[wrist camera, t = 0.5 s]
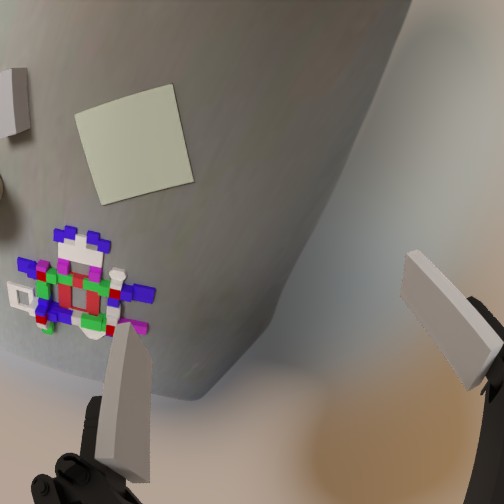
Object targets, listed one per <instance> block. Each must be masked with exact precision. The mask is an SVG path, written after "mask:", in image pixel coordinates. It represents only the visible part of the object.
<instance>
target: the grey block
mask: <svg viewBox="0 0 504 504" xmlns="http://www.w3.org/2000/svg"><path fill="white" fill-rule="evenodd" d="M29 128H31V125H30V116H29V104H28V90H27V68H11V69H8V70H5V71H3V72H0V138H4V137H7V136H11V135H14V134H17V133H20V132H22V131H24V130H27V129H29Z"/></svg>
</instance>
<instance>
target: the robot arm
mask: <svg viewBox="0 0 504 504" xmlns="http://www.w3.org/2000/svg"><path fill="white" fill-rule="evenodd" d="M400 297H401V298H402V299H403V301H404V302H405V303H406V305H407V306H408V307H409V309H410V310H411V311H412V313H413V314H414V315H415V317H416V318H417V319H418V321H419V322H420V323H421V325H422V326H423V327H424V328H425V330H426V332H427V333H428V334H429V336H430V337H431V338H432V340H433V341H434V343H435V344H436V345H437V347H438V348H439V350H440V351H441V353H442V354H443V355H444V357H445V358H446V360H447V361H448V363H449V364H450V365H451V367H452V368H453V370H454V372H455V373H456V375H457V376H458V378H459V379H460V380H461V382H462V384H463V385H464V386H465V388H466V390H467V391H469V390H471V389H473V388H474V387H476V386H478V385H479V384H480V383H481V382H482V380H483V379H484V377H485V376H486V377H487V379H488V382H487V383H486V385H485V386H484V388H483V389H482V391H481V394H480V395H483V393H484V392H485V390H486V394H485V403H484V412H483V419H482V426H481V432H480V437H479V443H478V448H477V453H476V458H475V462H474V466H473V470H472V475H471V479H470V482H469V486H468V489H467V493H466V497H465V500H464V503H463V504H504V327H503V326H502V325H501V324H500V322H499V321H498V320H497V319H496V318H495V317H493V315H492V313H491V312H490V311H488V309H487V308H486V307H485V306H484V305H483V303H482V302H480V301H479V300H477V299H475V298H474V297H472V296H471V297H468V298H465V297H464V296H463V295H462V293H461V292H460V291H459V290H458V289H457V288H456V287H455V286H454V285H453V284H452V283H451V282H450V281H449V280H448V279H447V278H446V277H445V276H444V275H443V274H442V273H441V272H440V270H439V269H437V267H436V266H434V264H433V263H432V262H431V261H430V260H429V259H428V258H427V257H426V256H424V255H423V254H422V253H421V252H420V251H419V250H414V251H411V252H408V253H406V256H405V264H404V272H403V280H402V286H401V294H400ZM152 366H153V359H152V357H151V356H150V354H149V353H148V351H147V349H146V348H145V346H144V344H143V343H142V341H141V339H140V338H139V336H138V334H137V333H136V331H135V329H134V327H133V326H132V324H131V322H126V323H121V324H116V326H115V330H114V335H113V340H112V344H111V349H110V354H109V360H108V365H107V370H106V376H105V382H104V388H103V394H102V396H94V397H92V398H91V400H90V402H89V404H88V406H87V409H86V415H85V419H86V420H85V421H84V429H83V435H82V443H81V450H80V456H78V455H77V454H74V453H66V454H64V455H62V456H61V457H60V458H59V459H58V460H57V463H56V465H55V473H56V476H57V477H56V478H51V477H50V476H48V475H45V474H40V475H38V476H36V477H35V478H34V480H33V481H32V485H31V492H32V496H33V499H34V503H35V504H142V503H141V502H140V501H139V499H138V498H137V497H136V496H135V495H134V494H133V493H132V492H131V490H130V489H129V488H128V487H126V479H127V480H128V481H130V482H132V483H150V455H149V454H150V405H151V383H152Z"/></svg>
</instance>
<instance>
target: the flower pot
mask: <svg viewBox="0 0 504 504" xmlns="http://www.w3.org/2000/svg"><path fill="white" fill-rule="evenodd" d="M2 194H3V183H2V180H1V178H0V200H1V198H2Z"/></svg>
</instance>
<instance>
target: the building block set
mask: <svg viewBox="0 0 504 504" xmlns="http://www.w3.org/2000/svg"><path fill="white" fill-rule="evenodd" d="M99 235H100V233H98V232H93V231H89V230H88V232H87V236H86V235H82V234H78V233H77V228H76V227H71V226H67V225H66V226H65V230H60V229H56V228H55V229H54V241H56V242H59V244H58V263H57V269H54V268H50V262H47V261H44V260H40V261H39V262H38V263H36V261H32V260H28V259H24V258H21V257H18V258H17V263H18V271H21V272H24V273H27V276H28V277H29V278H33V279H36V280H37V283H36V289H37V297H35V294H34V288H31V287H28V286H24V285H21V284H17V283H14V282H11V281H8V282H7V287H8V293H9V299H10V305H11V307H15V308H18V309H21V310H24V311H28V312H29V314H30V315H31V316H34V317H36V323H37V326H38V327H39V328H42V331H43V333H46V334H50V335H52V334H53V331H54V322H56V323H57V321H58V322H62V323H66V324H70V325H72V324H74V325H78V326H79V327H80V328H81V330H82V331H83V332H84V333H85V334H86V336H87V337H88V338H91V339H95V340H98V339H100V338H101V337H103V336H104V335H106V336H110V337H113V335H114V330H115V326H116V324H121V323H126V322H131V324H132V326H133V327H134V329H135V331H136V333H137V334H142V335H146V331H147V324H148V323H146V322H141V321H136V320H131V319H126V318H121V317H120V312H121V304H120V303H119V302H120V300H123V301H128V302H131V300H135V301H140V302H145V303H150V304H152V303H153V298H154V293H155V288H153V287H148V286H143V285H138V284H134V285H133V286H130V285H126V284H123V280H124V279H125V278H126V276H127V275H126V272H125V270H124V269H119V268H115V267H113V268H112V269H111V270H110V271H109V273H108V274H109V275H110V277H111V279H112V280H111V281H108V280H103V279H101V275H102V263H103V254H104V253H108V254H109V250H110V242H111V241H108V240H104V239H99ZM70 261H74V262H78V263H82V264H87V265H90V270H89V276H86V275H82V274H78V273H73V272H70ZM50 283H51V284H55V285H56V284H57V283H58V289H59V303H57V302H53V301H52V293H51V290H50ZM71 286H73V287H78V288H82V289H86V290H87V304H86V310H85V309H81V308H77V307H73V306H72V295H71ZM18 290H19V291H23V292H26V293H28V296H29V304H30V306H28V305H25V304H21V303H19V296H18ZM100 296H105V297H108V303H107V312H106V314H102V313H99V307H100Z"/></svg>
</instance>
